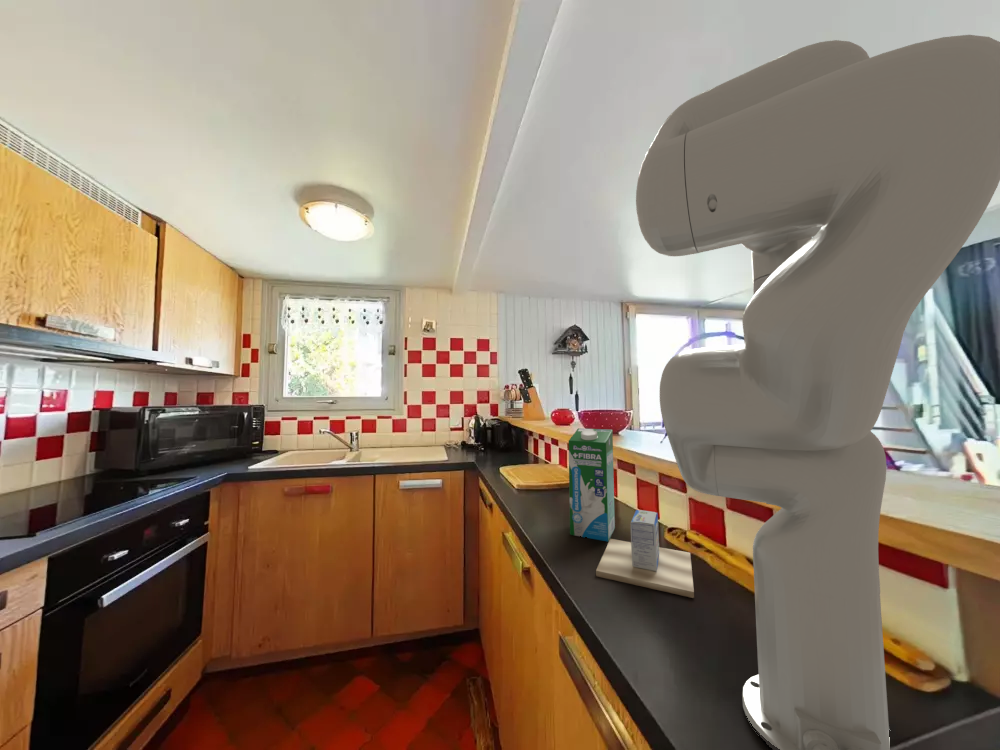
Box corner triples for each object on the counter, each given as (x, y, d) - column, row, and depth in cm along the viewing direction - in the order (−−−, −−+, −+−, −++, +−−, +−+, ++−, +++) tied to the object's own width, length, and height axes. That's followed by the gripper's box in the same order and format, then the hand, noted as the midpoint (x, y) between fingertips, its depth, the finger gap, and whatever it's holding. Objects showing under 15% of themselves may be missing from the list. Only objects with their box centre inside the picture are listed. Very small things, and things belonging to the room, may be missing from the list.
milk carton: (569, 534, 84) (568, 430, 85) (579, 522, 92) (577, 427, 93) (608, 542, 80) (605, 432, 81) (614, 528, 88) (612, 429, 89)
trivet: (694, 598, 58) (693, 591, 58) (596, 575, 65) (596, 570, 65) (690, 557, 72) (690, 552, 72) (610, 543, 79) (610, 538, 79)
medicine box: (657, 572, 64) (655, 524, 64) (631, 567, 66) (630, 520, 66) (659, 555, 71) (658, 511, 71) (636, 550, 73) (635, 508, 73)
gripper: (836, 267, 46) (844, 397, 45) (795, 299, 61) (801, 396, 60) (766, 276, 49) (772, 398, 48) (744, 304, 64) (748, 397, 63)
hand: (788, 397), depth 54 cm, fingers open, 9 cm apart
